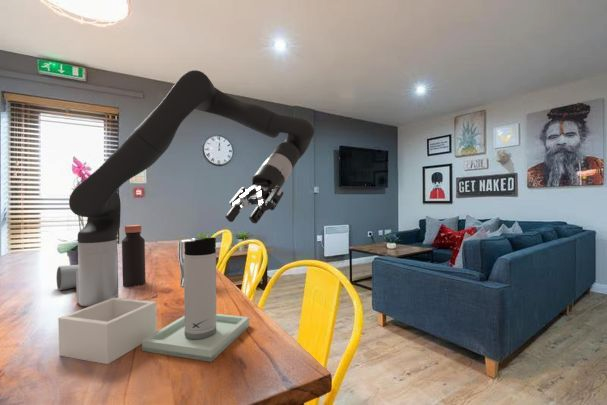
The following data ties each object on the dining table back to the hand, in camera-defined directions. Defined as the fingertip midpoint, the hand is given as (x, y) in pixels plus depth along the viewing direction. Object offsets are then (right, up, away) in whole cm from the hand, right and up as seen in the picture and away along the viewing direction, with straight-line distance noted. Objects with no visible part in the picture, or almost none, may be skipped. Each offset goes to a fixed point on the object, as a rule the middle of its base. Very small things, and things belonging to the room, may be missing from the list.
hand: (239, 220), depth 70 cm
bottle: (-43, -24, +31) cm, 58 cm away
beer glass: (-23, -24, +30) cm, 45 cm away
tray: (-6, -24, -8) cm, 26 cm away
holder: (-23, -24, -11) cm, 35 cm away
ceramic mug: (-62, -24, +29) cm, 73 cm away
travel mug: (-6, -23, -8) cm, 25 cm away
